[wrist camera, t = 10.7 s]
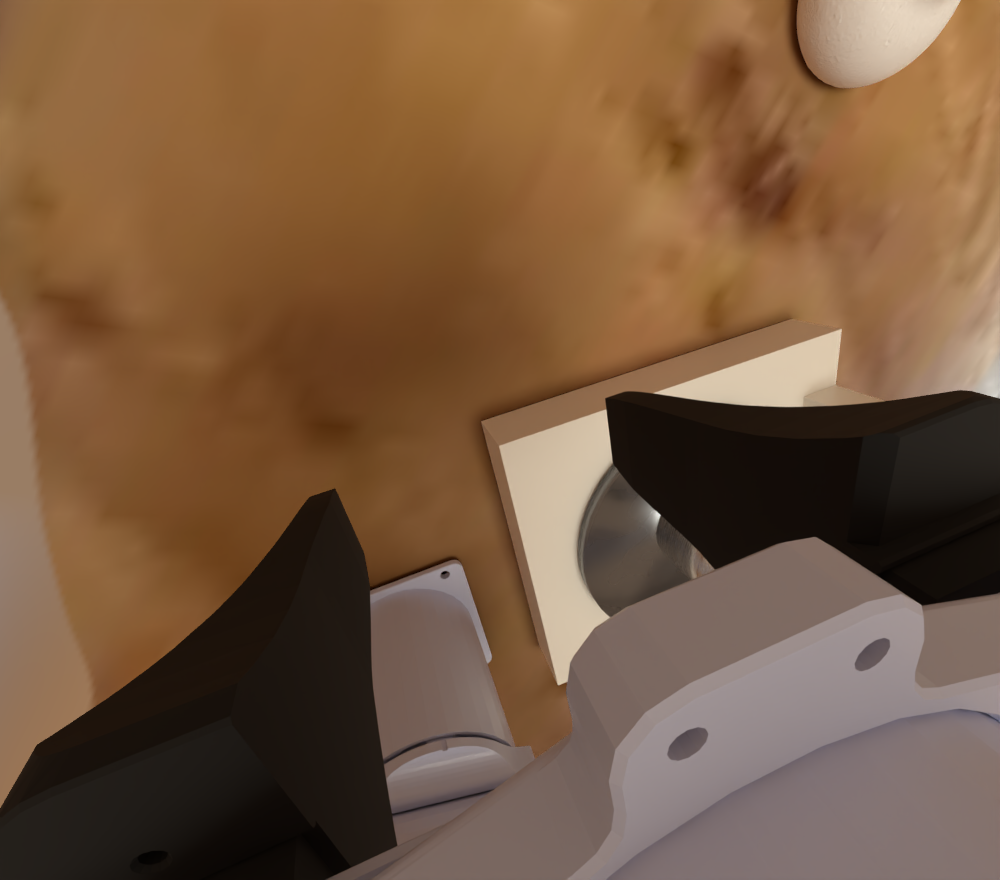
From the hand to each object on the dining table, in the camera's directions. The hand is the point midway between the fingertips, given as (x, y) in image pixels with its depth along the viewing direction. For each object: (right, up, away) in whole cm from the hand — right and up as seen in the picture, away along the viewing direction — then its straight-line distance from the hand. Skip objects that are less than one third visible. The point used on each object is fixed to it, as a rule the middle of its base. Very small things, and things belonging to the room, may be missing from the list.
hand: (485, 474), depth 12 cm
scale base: (+10, -2, +16) cm, 19 cm away
